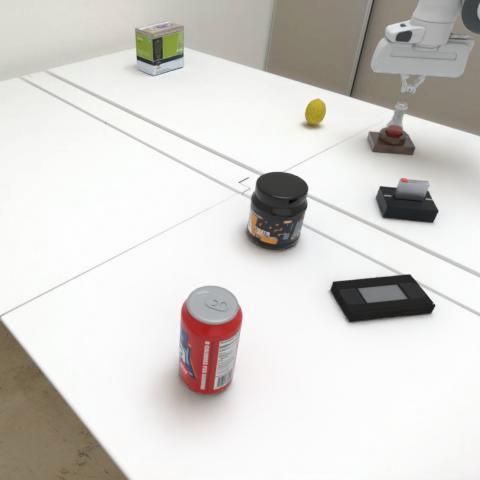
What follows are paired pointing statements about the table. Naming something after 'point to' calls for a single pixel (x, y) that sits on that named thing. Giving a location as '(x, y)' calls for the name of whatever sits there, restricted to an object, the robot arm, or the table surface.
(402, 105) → the rook chess piece
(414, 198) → the grey rocker switch
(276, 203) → the supplement container
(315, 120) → the lemon
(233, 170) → the table surface
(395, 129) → the button
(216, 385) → the soda can
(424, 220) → the plate
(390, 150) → the button block
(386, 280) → the vhs tape
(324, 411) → the table surface
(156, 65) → the tea box
